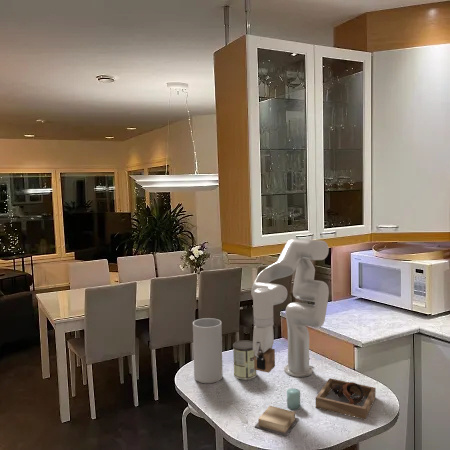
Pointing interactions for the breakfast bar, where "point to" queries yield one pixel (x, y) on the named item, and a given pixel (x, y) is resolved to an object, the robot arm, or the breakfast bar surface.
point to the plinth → (277, 420)
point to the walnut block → (266, 360)
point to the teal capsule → (293, 398)
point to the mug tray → (341, 406)
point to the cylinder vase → (207, 350)
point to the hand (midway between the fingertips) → (264, 364)
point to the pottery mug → (348, 392)
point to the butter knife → (240, 415)
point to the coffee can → (244, 360)
